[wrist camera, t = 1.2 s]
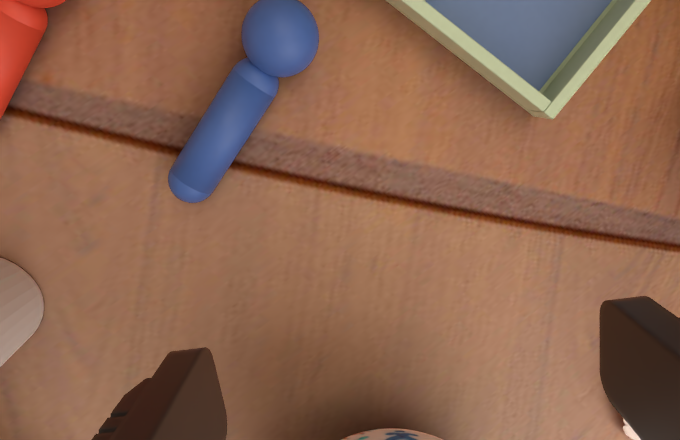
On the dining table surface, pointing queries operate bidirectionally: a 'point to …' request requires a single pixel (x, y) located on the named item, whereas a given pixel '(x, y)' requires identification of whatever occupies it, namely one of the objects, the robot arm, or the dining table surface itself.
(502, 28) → the sorting tray
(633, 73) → the dining table surface
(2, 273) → the coffee cup
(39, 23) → the red ball-tipped rod
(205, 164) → the blue massage wand
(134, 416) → the robot arm
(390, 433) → the chinaware
